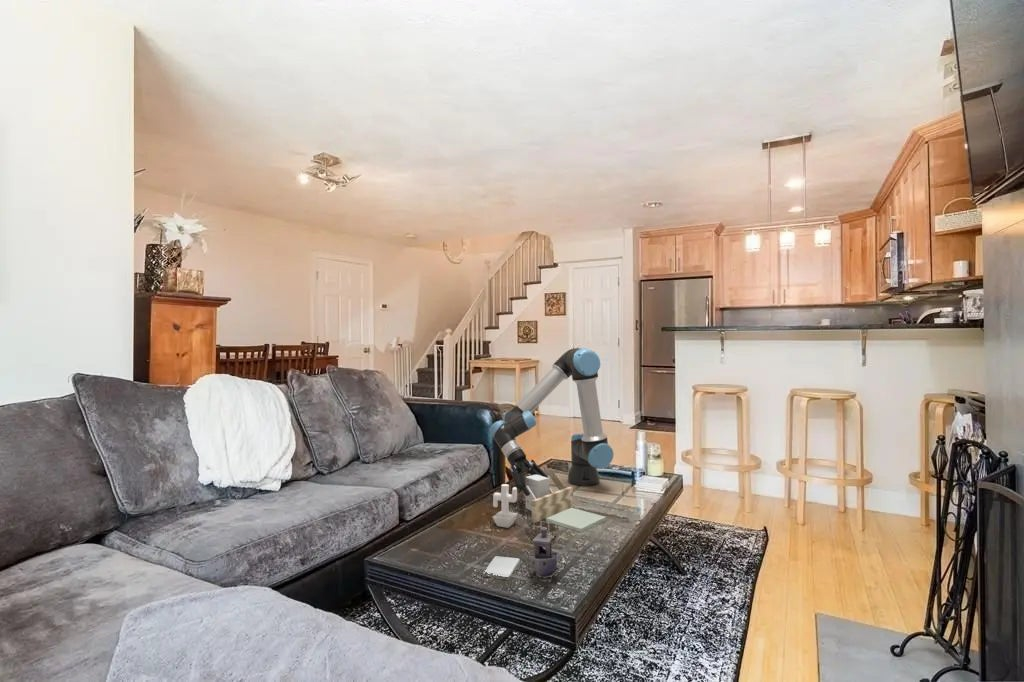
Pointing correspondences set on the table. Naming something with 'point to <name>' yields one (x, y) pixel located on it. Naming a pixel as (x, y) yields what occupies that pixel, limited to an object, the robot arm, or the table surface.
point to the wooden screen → (552, 504)
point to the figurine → (505, 506)
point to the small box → (537, 487)
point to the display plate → (576, 519)
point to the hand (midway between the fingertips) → (543, 498)
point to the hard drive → (502, 566)
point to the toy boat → (544, 555)
